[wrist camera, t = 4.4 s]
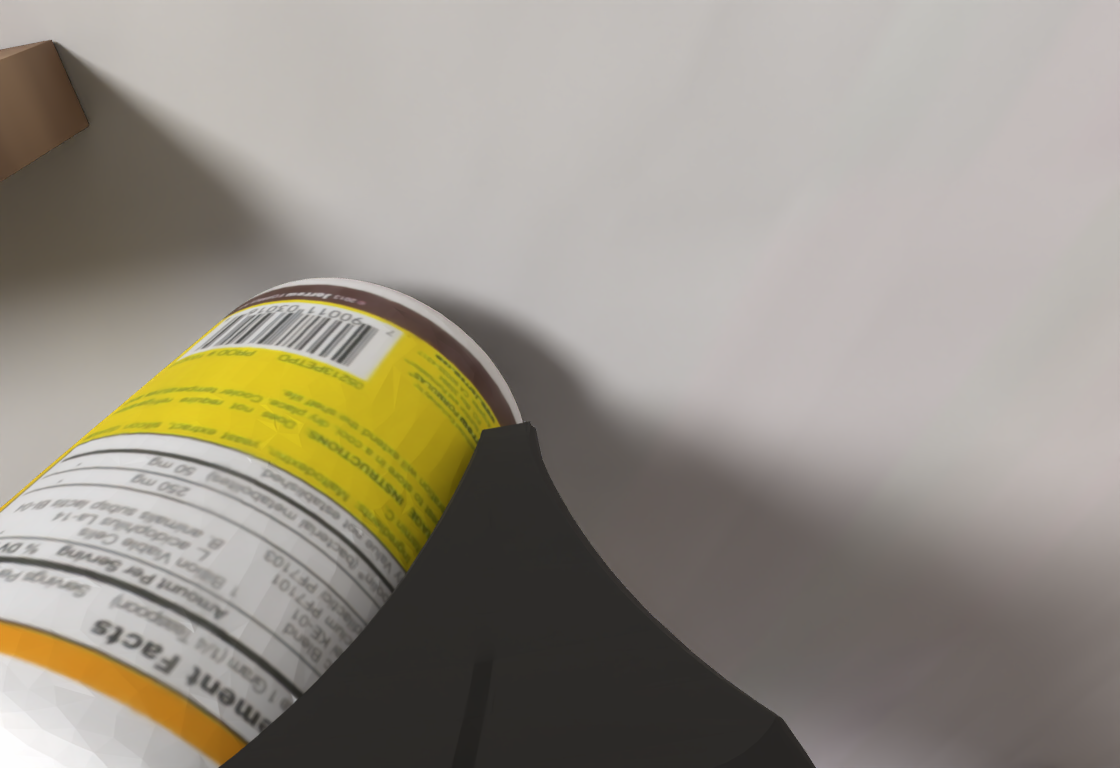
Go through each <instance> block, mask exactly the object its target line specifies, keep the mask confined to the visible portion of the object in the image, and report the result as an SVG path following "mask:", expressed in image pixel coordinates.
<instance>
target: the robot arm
mask: <svg viewBox="0 0 1120 768" xmlns="http://www.w3.org/2000/svg"><path fill="white" fill-rule="evenodd" d="M218 768H816V767H815V766H814V764H813V763H812V761H811V759H810V758H809V756H808V755H807V753H806V752H805V750H804V749H803V747H802V746H801V745H800V743H799V742H798V740H797V739H796V737H795V736H794V734H793V733H792V731H791V730H790V729H789V727H788V726H787V724H786V723H785V722H784V720H783V719H782V718H781V717H779V716H778V715H776V714H775V713H773V712H772V711H770V710H769V709H767V708H766V707H764V706H763V705H761V704H760V703H758V702H757V701H755V700H754V699H752V698H751V697H750V696H748V695H747V694H745V693H744V692H743V691H741V690H740V689H739V688H737V687H736V686H734V685H733V684H732V683H730V682H729V681H727V680H726V679H725V678H724V677H722V676H721V675H720V674H719V673H717V672H716V671H715V670H714V669H712V668H711V667H710V666H709V665H707V664H706V663H705V662H704V661H702V660H701V659H700V658H699V657H697V656H696V655H695V654H694V653H692V652H691V651H690V650H689V649H688V648H687V647H686V646H685V645H684V644H683V643H682V642H680V641H679V640H678V639H677V638H676V637H675V636H674V635H673V634H672V633H671V632H670V631H668V630H667V629H666V628H665V627H664V626H663V625H662V624H661V623H660V622H659V621H658V620H656V619H655V618H654V617H653V616H652V615H651V614H650V613H649V612H648V611H647V610H646V609H645V608H644V607H643V606H642V605H641V604H640V602H639V601H638V600H637V599H636V598H635V597H634V596H633V595H632V594H631V593H630V592H629V591H628V590H627V589H626V587H625V586H624V585H623V584H622V583H621V582H620V580H619V579H618V578H617V577H616V576H615V575H614V573H613V572H612V571H611V570H610V569H609V567H608V566H607V565H606V564H605V562H604V561H603V560H602V559H601V557H600V556H599V555H598V553H597V552H596V551H595V549H594V548H593V547H592V545H591V544H590V542H589V541H588V540H587V538H586V537H585V535H584V534H583V532H582V531H581V530H580V528H579V527H578V525H577V524H576V522H575V520H574V519H573V517H572V516H571V514H570V513H569V511H568V509H567V507H566V506H565V504H564V502H563V500H562V499H561V497H560V495H559V493H558V492H557V490H556V488H555V486H554V484H553V482H552V480H551V479H550V477H549V474H548V472H547V470H546V467H545V465H544V463H543V461H542V456H541V452H540V447H539V443H538V438H537V433H536V429H535V428H534V427H533V426H531V424H530V422H525V423H519V424H513V425H507V426H502V427H496V428H490V429H484V430H482V432H481V435H480V439H479V441H478V443H477V446H476V448H475V450H474V453H473V455H472V457H471V459H470V462H469V464H468V466H467V468H466V470H465V472H464V474H463V476H462V478H461V480H460V482H459V484H458V486H457V488H456V490H455V492H454V494H453V496H452V498H451V500H450V501H449V503H448V505H447V507H446V509H445V510H444V512H443V514H442V516H441V518H440V520H439V521H438V523H437V525H436V527H435V528H434V530H433V532H432V533H431V535H430V537H429V538H428V540H427V541H426V543H425V545H424V546H423V548H422V549H421V551H420V552H419V554H418V555H417V557H416V559H415V560H414V562H413V563H412V565H411V566H410V568H409V570H408V571H407V573H406V574H405V576H404V577H403V578H402V580H401V581H400V583H399V584H398V585H397V587H396V588H395V590H394V591H393V592H392V594H391V595H390V596H389V598H388V599H387V601H386V602H385V603H384V605H383V606H382V607H381V608H380V610H379V611H378V612H377V613H376V615H375V616H374V617H373V618H372V620H371V621H370V622H369V624H368V625H367V626H366V627H365V628H364V630H363V631H362V632H361V633H360V634H359V635H358V637H357V638H356V639H355V640H354V641H353V642H352V643H351V645H350V646H349V647H348V648H347V649H346V650H345V651H344V652H343V653H342V654H341V655H340V656H339V657H338V659H337V660H336V661H335V662H334V663H333V664H332V665H331V666H330V667H329V668H328V669H327V670H326V671H325V673H324V674H323V675H322V676H321V677H320V678H319V679H318V680H317V681H316V682H315V683H314V684H313V685H312V686H311V687H310V688H309V689H308V690H307V691H306V692H305V693H304V694H303V695H302V696H301V697H300V698H298V699H297V700H296V701H295V702H294V703H293V704H292V705H291V706H290V707H289V708H288V709H287V710H286V711H285V712H284V713H282V714H281V715H280V716H279V717H278V718H277V719H276V720H275V721H273V722H272V723H271V724H270V725H269V726H268V727H267V728H266V729H264V730H263V731H262V732H261V733H260V734H259V735H258V736H257V737H255V738H254V739H253V740H252V741H251V742H249V743H248V744H247V745H246V746H245V747H244V748H242V749H241V750H240V751H239V752H238V753H236V754H235V755H234V756H233V757H231V758H230V759H229V760H227V761H226V762H225V763H224V764H222V765H221V766H220V767H218Z"/></svg>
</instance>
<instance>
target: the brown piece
mask: <svg viewBox="0 0 1120 768" xmlns="http://www.w3.org/2000/svg"><path fill="white" fill-rule="evenodd" d="M88 126H89V123H88V121H87V119H86V117H85V114H84V112H83V110H82V108H81V105H80V103H79V101H78V99H77V96H76V94H75V92H74V89H73V87H72V85H71V83H70V80H69V78H68V76H67V74H66V71H65V69H64V67H63V65H62V62H61V60H60V58H59V55H58V53H57V51H56V49H55V46H54V44H53V42H52V40H48V41H43V42H38V43H33V44H27V45H22V46H17V47H12V48H7V49H2V50H0V182H1V181H3V180H4V179H6V178H8V177H9V176H11V175H12V174H14V173H16V172H17V171H19V170H20V169H22V168H23V167H25V166H27V165H28V164H30V163H31V162H33V161H34V160H36V159H38V158H39V157H41V156H42V155H44V154H46V153H47V152H49V151H50V150H52V149H53V148H55V147H57V146H58V145H60V144H61V143H63V142H64V141H66V140H68V139H69V138H71V137H72V136H74V135H76V134H77V133H79V132H80V131H82V130H83V129H85V128H87V127H88Z"/></svg>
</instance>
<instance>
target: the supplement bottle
mask: <svg viewBox="0 0 1120 768" xmlns="http://www.w3.org/2000/svg"><path fill="white" fill-rule="evenodd" d="M519 423H523V421H522V418H521V414H520V411H519V409H518V406H517V404H516V401H515V399H514V397H513V395H512V393H511V391H510V389H509V387H508V385H507V383H506V382H505V380H504V378H503V377H502V375H501V373H500V372H499V370H498V369H497V368H496V366H495V365H494V363H493V362H492V360H491V359H490V358H489V357H488V356H487V354H486V353H485V352H484V351H483V350H482V349H481V348H480V347H479V346H478V345H477V343H476V342H475V341H474V340H473V339H471V338H470V337H469V336H468V335H467V334H466V333H465V332H464V331H463V330H462V329H461V328H459V327H458V326H457V325H455V324H454V323H453V322H451V321H450V320H449V319H448V318H446V317H445V316H444V315H442V314H441V313H439V312H437V311H436V310H434V309H432V308H431V307H429V306H427V305H426V304H424V303H422V302H420V301H418V300H416V299H414V298H413V297H410V296H408V295H406V294H403V293H401V292H399V291H396V290H393V289H390V288H388V287H385V286H381V285H377V284H374V283H370V282H365V281H360V280H353V279H347V278H310V279H304V280H298V281H292V282H288V283H285V284H281V285H278V286H275V287H273V288H270V289H268V290H265V291H263V292H261V293H259V294H257V295H256V296H254V297H252V298H251V299H249V300H247V301H246V302H244V303H243V304H242V305H240V306H239V307H238V308H236V309H235V310H234V311H233V312H231V313H230V314H229V315H227V316H226V317H225V318H223V319H222V320H221V321H220V322H219V323H218V324H216V325H215V326H214V327H213V328H212V329H211V330H209V331H208V332H207V333H206V334H205V335H203V336H202V337H201V338H200V339H199V340H197V341H196V342H195V343H194V344H193V345H191V346H190V347H189V348H188V349H187V350H186V351H184V352H183V353H182V354H181V355H180V356H178V357H177V358H176V359H175V360H174V361H173V362H171V363H170V364H169V365H168V366H167V367H165V368H164V369H163V370H162V371H161V372H160V373H158V374H157V375H156V376H155V377H154V378H152V379H151V380H150V381H149V382H148V383H147V384H145V385H144V386H143V387H142V388H141V389H139V390H138V391H137V392H136V393H135V394H134V395H132V396H131V397H130V398H129V399H128V400H127V401H125V402H124V403H123V404H122V405H121V406H119V407H118V408H117V409H116V410H115V411H114V412H112V413H111V414H110V415H109V416H108V417H106V418H105V419H104V420H103V421H102V422H100V423H99V424H98V425H97V426H96V427H94V428H93V429H92V430H91V431H90V432H89V433H87V434H86V435H85V436H84V437H83V438H81V439H80V440H79V441H78V442H77V443H76V444H74V445H73V446H72V447H71V448H70V449H69V450H67V451H66V452H65V453H64V454H63V455H62V456H60V457H59V458H58V459H57V460H56V461H55V462H53V463H52V464H51V465H50V466H49V467H47V468H46V469H45V470H44V471H43V472H42V473H40V474H39V475H38V476H37V477H36V478H35V479H33V480H32V481H31V482H30V483H29V484H28V485H27V486H25V487H24V488H23V489H22V490H21V491H20V492H19V493H17V494H16V495H15V496H14V497H13V498H12V499H11V500H9V501H8V502H7V503H6V504H5V505H3V506H2V507H1V508H0V768H218V767H220V766H221V765H222V764H224V763H225V762H226V761H227V760H229V759H230V758H231V757H233V756H234V755H235V754H236V753H238V752H239V751H240V750H241V749H242V748H244V747H245V746H246V745H247V744H248V743H249V742H251V741H252V740H253V739H254V738H255V737H257V736H258V735H259V734H260V733H261V732H262V731H263V730H264V729H266V728H267V727H268V726H269V725H270V724H271V723H272V722H273V721H275V720H276V719H277V718H278V717H279V716H280V715H281V714H282V713H284V712H285V711H286V710H287V709H288V708H289V707H290V706H291V705H292V704H293V703H294V702H295V701H296V700H297V699H298V698H300V697H301V696H302V695H303V694H304V693H305V692H306V691H307V690H308V689H309V688H310V687H311V686H312V685H313V684H314V683H315V682H316V681H317V680H318V679H319V678H320V677H321V676H322V675H323V674H324V673H325V671H326V670H327V669H328V668H329V667H330V666H331V665H332V664H333V663H334V662H335V661H336V660H337V659H338V657H339V656H340V655H341V654H342V653H343V652H344V651H345V650H346V649H347V648H348V647H349V646H350V645H351V643H352V642H353V641H354V640H355V639H356V638H357V637H358V635H359V634H360V633H361V632H362V631H363V630H364V628H365V627H366V626H367V625H368V624H369V622H370V621H371V620H372V618H373V617H374V616H375V615H376V613H377V612H378V611H379V610H380V608H381V607H382V606H383V605H384V603H385V602H386V601H387V599H388V598H389V596H390V595H391V594H392V592H393V591H394V590H395V588H396V587H397V585H398V584H399V583H400V581H401V580H402V578H403V577H404V576H405V574H406V573H407V571H408V570H409V568H410V566H411V565H412V563H413V562H414V560H415V559H416V557H417V555H418V554H419V552H420V551H421V549H422V548H423V546H424V545H425V543H426V541H427V540H428V538H429V537H430V535H431V533H432V532H433V530H434V528H435V527H436V525H437V523H438V521H439V520H440V518H441V516H442V514H443V512H444V510H445V509H446V507H447V505H448V503H449V501H450V500H451V498H452V496H453V494H454V492H455V490H456V488H457V486H458V484H459V482H460V480H461V478H462V476H463V474H464V472H465V470H466V468H467V466H468V464H469V462H470V459H471V457H472V455H473V453H474V450H475V448H476V446H477V443H478V441H479V439H480V435H481V432H482V430H484V429H490V428H496V427H502V426H507V425H513V424H519Z"/></svg>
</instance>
